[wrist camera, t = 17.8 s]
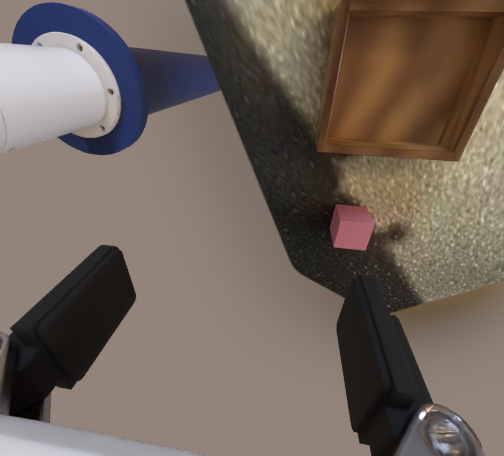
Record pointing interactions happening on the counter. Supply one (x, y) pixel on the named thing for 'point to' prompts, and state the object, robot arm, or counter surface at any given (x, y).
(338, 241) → the block
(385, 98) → the crate
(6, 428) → the robot arm
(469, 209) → the counter surface
